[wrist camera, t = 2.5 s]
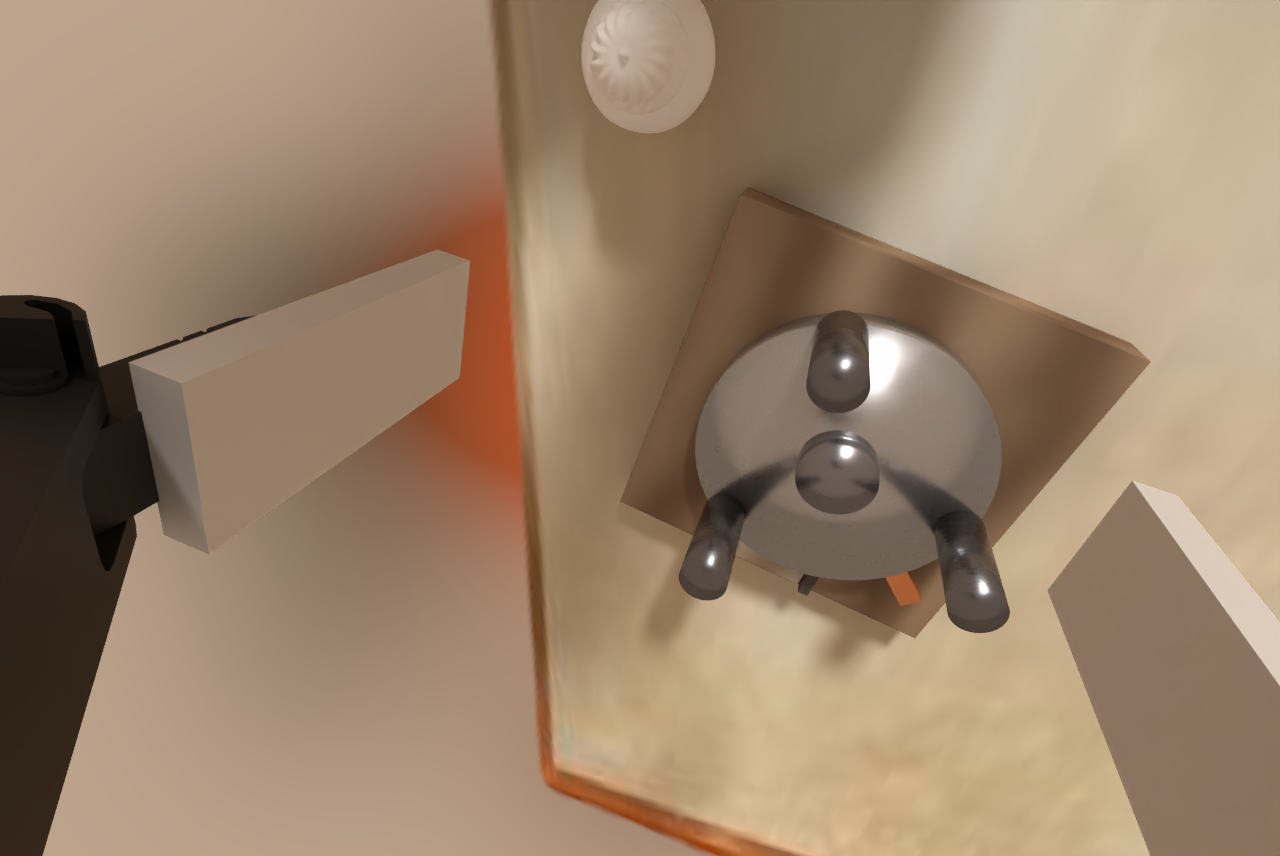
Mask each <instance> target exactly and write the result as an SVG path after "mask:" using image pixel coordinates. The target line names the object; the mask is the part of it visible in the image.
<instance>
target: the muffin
mask: <svg viewBox="0 0 1280 856" xmlns="http://www.w3.org/2000/svg"><path fill="white" fill-rule="evenodd" d="M715 56H716V52H715V39H714V34H713V29H712V25H711V22H710V19H709V16H708V13H707V11H706V9H705V7H704V5H703V3H702V2H701V0H598V2H597V3H596V4H595V6H594V8H593V9H592V11H591V13H590V16H589V18H588V20H587V23H586V27H585V30H584V34H583V40H582V49H581V63H582V71H583V76H584V80H585V84H586V87H587V90H588V92H589V94H590V96H591V98H592V100H593V102H594V104H595V105H596V107H597V108H598V109H599V111H600V112H601V113H602V114H603V115H604V116H605V117H606V118H607V119H608V120H609V121H611V122H612V123H614V124H615V125H617V126H619V127H621V128H624V129H626V130H629V131H633V132H637V133H646V134H651V133H660V132H664V131H667V130H670V129H672V128H674V127H676V126H678V125H680V124H681V123H683V122H684V121H685V120H687V119H688V118H689V117H690V116H691V115H692V114H693V113H694V112H695V111H696V109H697V108H698V107H699V106H700V104H701V103H702V101H703V100H704V98H705V96H706V94H707V92H708V90H709V88H710V85H711V82H712V78H713V74H714V69H715Z"/></svg>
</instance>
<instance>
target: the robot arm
mask: <svg viewBox="0 0 1280 856" xmlns="http://www.w3.org/2000/svg"><path fill="white" fill-rule="evenodd" d="M469 267H470V261H469V260H466V259H463V258H460V257H457V256H454V255H451V254H448V253H445V252H442V251H439V250H435V251H433V252H430V253H427V254H424V255H422V256H419V257H416V258H413V259H411V260H408V261H405V262H402V263H400V264H397V265H394V266H391V267H389V268H386V269H384V270H380V271H378V272H375V273H373V274H370V275H367V276H364V277H361V278H359V279H356V280H353V281H351V282H348V283H345V284H342V285H339V286H337V287H334V288H332V289H328V290H326V291H323V292H320V293H318V294H315V295H312V296H309V297H306V298H304V299H301V300H298V301H296V302H293V303H290V304H287V305H285V306H282V307H279V308H276V309H274V310H271V311H268V312H265V313H263V314H260V315H257V316H250V317H243V318H236V319H233V320H230V321H227V322H225V323H222V324H219V325H216V326H213V327H211V328H208V329H207V331H206V332H203V331H200V332H197V333H194V334H191V335H188V336H186V337H183V340H182V341H180V340H174V341H171V342H169V343H166V344H163V345H160V346H157V347H155V348H152V349H149V350H146V351H143V352H141V353H138V354H135V355H133V356H129V357H127V358H124V359H121V360H118V361H115V362H113V363H110V364H107V365H104V366H101V367H99V366H98V362H97V358H96V353H95V349H94V345H93V341H92V336H91V332H90V328H89V324H88V319H87V315H86V312H85V311H84V310H83V309H82V308H80V307H79V306H78V305H76V304H75V303H71V302H67V301H64V300H61V299H58V298H51V297H42V296H33V295H8V296H0V856H42V855H43V852H44V848H45V845H46V842H47V838H48V835H49V831H50V828H51V825H52V821H53V818H54V815H55V811H56V808H57V804H58V801H59V798H60V794H61V791H62V787H63V784H64V781H65V777H66V774H67V770H68V767H69V764H70V760H71V757H72V754H73V750H74V747H75V744H76V740H77V737H78V733H79V730H80V727H81V723H82V720H83V716H84V713H85V710H86V706H87V703H88V699H89V696H90V692H91V689H92V686H93V682H94V679H95V676H96V672H97V669H98V666H99V662H100V659H101V655H102V652H103V648H104V645H105V642H106V639H107V635H108V632H109V628H110V625H111V621H112V618H113V615H114V611H115V608H116V605H117V601H118V598H119V595H120V591H121V588H122V584H123V581H124V577H125V574H126V571H127V567H128V564H129V560H130V557H131V554H132V550H133V547H134V543H135V540H136V537H137V534H136V524H135V520H134V515H136V514H137V513H139V512H141V511H142V510H144V509H146V508H147V507H149V506H151V505H152V504H155V503H156V502H157V503H158V508H159V513H160V517H161V522H162V527H163V531H164V535H166V536H168V537H171V538H173V539H175V540H177V541H180V542H182V543H184V544H187V545H189V546H191V547H194V548H196V549H198V550H200V551H203V552H205V553H207V554H211V553H212V552H213V551H215V550H216V549H218V548H219V547H220V546H222V545H223V544H224V543H226V542H227V541H229V540H230V539H232V538H233V537H235V536H236V535H237V534H239V533H240V532H242V531H243V530H244V529H246V528H247V527H249V526H250V525H252V524H253V523H254V522H256V521H257V520H259V519H260V518H261V517H263V516H264V515H266V514H267V513H269V512H270V511H271V510H273V509H274V508H276V507H277V506H278V505H280V504H281V503H283V502H284V501H286V500H287V499H288V498H290V497H291V496H292V495H294V494H295V493H297V492H298V491H300V490H301V489H302V488H304V487H305V486H307V485H308V484H309V483H311V482H312V481H314V480H315V479H317V478H318V477H319V476H321V475H322V474H324V473H325V472H327V471H328V470H329V469H331V468H332V467H334V466H335V465H336V464H338V463H339V462H340V461H342V460H343V459H345V458H346V457H348V456H349V455H351V454H352V453H353V452H355V451H356V450H358V449H359V448H360V447H362V446H363V445H365V444H366V443H368V442H369V441H370V440H372V439H373V438H375V437H376V436H377V435H379V434H380V433H382V432H383V431H384V430H386V429H387V428H389V427H390V426H392V425H393V424H394V423H396V422H397V421H399V420H400V419H401V418H403V417H404V416H406V415H407V414H408V413H410V412H411V411H413V410H414V409H416V408H417V407H418V406H420V405H421V404H423V403H424V402H426V401H427V400H428V399H430V398H431V397H433V396H434V395H435V394H437V393H438V392H440V391H441V390H442V389H444V388H445V387H447V386H448V385H449V384H451V383H452V382H454V381H455V380H456V379H458V378H459V377H460V367H461V356H462V344H463V334H464V333H463V332H464V323H465V312H466V301H467V289H468V278H469ZM1048 593H1049V595H1050V598H1051V600H1052V603H1053V605H1054V608H1055V611H1056V613H1057V616H1058V618H1059V621H1060V624H1061V626H1062V629H1063V631H1064V634H1065V636H1066V639H1067V642H1068V644H1069V647H1070V649H1071V652H1072V655H1073V657H1074V660H1075V662H1076V665H1077V667H1078V670H1079V673H1080V675H1081V678H1082V680H1083V683H1084V685H1085V688H1086V691H1087V693H1088V696H1089V698H1090V701H1091V704H1092V706H1093V709H1094V711H1095V714H1096V716H1097V719H1098V722H1099V724H1100V727H1101V729H1102V732H1103V735H1104V737H1105V740H1106V742H1107V745H1108V747H1109V750H1110V753H1111V755H1112V758H1113V760H1114V763H1115V765H1116V768H1117V771H1118V773H1119V776H1120V778H1121V781H1122V784H1123V786H1124V789H1125V791H1126V794H1127V796H1128V799H1129V802H1130V804H1131V807H1132V809H1133V812H1134V815H1135V817H1136V820H1137V822H1138V825H1139V827H1140V830H1141V833H1142V835H1143V838H1144V840H1145V843H1146V845H1147V848H1148V851H1149V853H1150V856H1280V622H1279V621H1278V620H1277V618H1276V617H1275V616H1274V615H1273V613H1272V612H1271V611H1270V610H1269V608H1268V607H1267V606H1266V605H1265V603H1264V602H1263V601H1262V600H1261V598H1260V597H1259V596H1258V595H1257V594H1256V592H1255V591H1254V590H1253V589H1252V587H1251V586H1250V585H1249V584H1248V582H1247V581H1246V580H1245V579H1244V577H1243V576H1242V575H1241V574H1240V572H1239V571H1238V570H1237V569H1236V567H1235V566H1234V565H1233V564H1232V562H1231V561H1230V560H1229V559H1228V558H1227V556H1226V555H1225V554H1224V553H1223V551H1222V550H1221V549H1220V548H1219V546H1218V545H1217V544H1216V543H1215V541H1214V540H1213V539H1212V538H1211V536H1210V535H1209V534H1208V533H1207V531H1206V530H1205V529H1204V528H1203V526H1202V525H1201V524H1200V523H1199V522H1198V520H1197V519H1196V518H1195V517H1194V515H1193V514H1192V513H1191V512H1190V510H1189V509H1188V508H1187V507H1186V505H1185V504H1184V503H1183V502H1182V500H1181V499H1180V498H1179V497H1178V496H1177V495H1174V494H1171V493H1168V492H1165V491H1162V490H1159V489H1156V488H1153V487H1150V486H1147V485H1144V484H1141V483H1138V482H1135V481H1132V482H1131V483H1130V484H1129V486H1128V487H1127V488H1126V490H1125V491H1124V492H1123V493H1122V495H1121V496H1120V497H1119V499H1118V500H1117V501H1116V503H1115V504H1114V505H1113V506H1112V508H1111V509H1110V510H1109V512H1108V513H1107V514H1106V515H1105V517H1104V518H1103V519H1102V521H1101V522H1100V523H1099V525H1098V526H1097V527H1096V528H1095V530H1094V531H1093V532H1092V534H1091V535H1090V536H1089V538H1088V539H1087V540H1086V541H1085V543H1084V544H1083V545H1082V547H1081V548H1080V549H1079V550H1078V552H1077V553H1076V554H1075V556H1074V557H1073V558H1072V560H1071V561H1070V562H1069V563H1068V565H1067V566H1066V567H1065V569H1064V570H1063V571H1062V572H1061V574H1060V575H1059V576H1058V578H1057V579H1056V580H1055V582H1054V583H1053V584H1052V585H1051V587H1050V588H1049V589H1048Z"/></svg>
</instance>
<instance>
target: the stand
mask: <svg viewBox="0 0 1280 856" xmlns="http://www.w3.org/2000/svg"><path fill="white" fill-rule="evenodd" d="M839 310H847V311H851V312H854V313H867V314H874V315H879V316H884V317H888V318H892V319H895V320H898V321H901V322H904V323H907V324H910V325H912V326H914V327H916V328H918V329H920V330H922V331H925V332H927V333H929V334H930V335H932V336H933V337H935V338H936V339H938V340H939V341H941V342H942V343H944V344H945V345H947V346H948V347H949V348H950V349H951V350H952V351H953V352H954V353H956V354H957V355H958V356H959V357H960V358H961V359H962V360H963V361H964V362H965V364H966V365H967V366H968V367H969V369H970V370H971V371H972V372H973V373H974V375H975V377H976V378H977V380H978V382H979V383H980V385H981V387H982V388H983V390H984V393H985V395H986V398H987V400H988V402H989V405H990V407H991V410H992V412H993V415H994V417H995V420H996V423H997V425H998V430H999V435H1000V439H1001V449H1002V465H1001V472H1000V479H999V483H998V486H997V489H996V492H995V496H994V498H993V500H992V502H991V504H990V506H989V508H988V510H987V512H986V513H985V515H984V516H983V518H982V519H981V520H982V521H983V522H984V524H985V527H986V530H987V534H988V537H989V541H990V544H991V547H993V546H994V545H995V544H996V543H997V541H998V540H999V539H1000V538H1001V537H1002V535H1003V534H1004V533H1005V532H1006V531H1007V530H1008V528H1009V527H1010V526H1011V525H1012V524H1013V523H1014V521H1015V520H1016V519H1017V518H1018V517H1019V516H1020V514H1021V513H1022V512H1023V511H1024V510H1025V509H1026V507H1027V506H1028V505H1029V504H1030V503H1031V502H1032V500H1033V499H1034V498H1035V497H1036V496H1037V494H1038V493H1039V492H1040V491H1041V490H1042V489H1043V487H1044V486H1045V485H1046V484H1047V483H1048V482H1049V480H1050V479H1051V478H1052V477H1053V476H1054V475H1055V473H1056V472H1057V471H1058V470H1059V469H1060V468H1061V466H1062V465H1063V464H1064V463H1065V462H1066V460H1067V459H1068V458H1069V457H1070V456H1071V455H1072V453H1073V452H1074V451H1075V450H1076V449H1077V448H1078V446H1079V445H1080V444H1081V443H1082V442H1083V441H1084V439H1085V438H1086V437H1087V436H1088V435H1089V434H1090V432H1091V431H1092V430H1093V429H1094V428H1095V427H1096V425H1097V424H1098V423H1099V422H1100V421H1101V419H1102V418H1103V417H1104V416H1105V415H1106V414H1107V412H1108V411H1109V410H1110V409H1111V408H1112V407H1113V405H1114V404H1115V403H1116V402H1117V401H1118V400H1119V398H1120V397H1121V396H1122V395H1123V394H1124V393H1125V391H1126V390H1127V389H1128V388H1129V387H1130V385H1131V384H1132V383H1133V382H1134V381H1135V380H1136V378H1137V377H1138V376H1139V375H1140V374H1141V373H1142V371H1143V370H1144V369H1145V368H1146V367H1147V366H1148V364H1149V363H1150V361H1149V360H1148V359H1147V358H1146V357H1145V356H1144V355H1143V354H1142V353H1141V352H1140V351H1139V350H1138V349H1137V348H1135V347H1134V346H1133V345H1132V344H1131V343H1129V342H1127V341H1124V340H1122V339H1119V338H1117V337H1115V336H1112V335H1110V334H1107V333H1105V332H1102V331H1100V330H1097V329H1095V328H1092V327H1090V326H1087V325H1085V324H1082V323H1080V322H1078V321H1075V320H1073V319H1070V318H1068V317H1065V316H1063V315H1060V314H1058V313H1055V312H1053V311H1050V310H1048V309H1046V308H1043V307H1041V306H1038V305H1036V304H1033V303H1031V302H1028V301H1026V300H1023V299H1021V298H1018V297H1016V296H1013V295H1011V294H1009V293H1006V292H1004V291H1001V290H999V289H996V288H994V287H991V286H989V285H986V284H984V283H981V282H979V281H977V280H974V279H972V278H969V277H967V276H964V275H962V274H959V273H957V272H954V271H952V270H949V269H947V268H944V267H942V266H940V265H937V264H935V263H932V262H930V261H927V260H925V259H922V258H920V257H917V256H915V255H912V254H910V253H908V252H905V251H903V250H900V249H898V248H895V247H893V246H890V245H888V244H885V243H883V242H880V241H878V240H876V239H873V238H871V237H868V236H866V235H863V234H861V233H858V232H856V231H853V230H851V229H848V228H846V227H843V226H841V225H839V224H836V223H834V222H831V221H829V220H826V219H824V218H821V217H819V216H816V215H814V214H811V213H809V212H807V211H804V210H802V209H799V208H797V207H794V206H792V205H789V204H787V203H784V202H782V201H779V200H777V199H774V198H772V197H770V196H767V195H765V194H762V193H760V192H757V191H755V190H752V189H750V188H748V189H747V190H746V191H744V192H743V193H742V194H741V195H740V198H739V201H738V203H737V206H736V208H735V211H734V213H733V216H732V218H731V221H730V223H729V226H728V229H727V231H726V234H725V236H724V239H723V241H722V244H721V246H720V249H719V251H718V254H717V257H716V259H715V262H714V264H713V267H712V269H711V272H710V274H709V277H708V279H707V282H706V285H705V287H704V290H703V292H702V295H701V297H700V300H699V302H698V305H697V307H696V310H695V313H694V315H693V318H692V320H691V323H690V325H689V328H688V330H687V333H686V335H685V338H684V341H683V343H682V346H681V348H680V351H679V353H678V356H677V358H676V361H675V363H674V366H673V369H672V371H671V374H670V376H669V379H668V381H667V384H666V386H665V389H664V391H663V394H662V397H661V399H660V402H659V404H658V407H657V409H656V412H655V414H654V417H653V419H652V422H651V425H650V427H649V430H648V432H647V435H646V437H645V440H644V442H643V445H642V447H641V450H640V452H639V455H638V458H637V460H636V463H635V465H634V468H633V470H632V473H631V475H630V478H629V480H628V483H627V486H626V488H625V491H624V493H623V496H622V498H621V502H623V503H625V504H627V505H629V506H632V507H634V508H636V509H638V510H640V511H642V512H644V513H647V514H649V515H651V516H653V517H655V518H657V519H660V520H662V521H664V522H666V523H668V524H670V525H672V526H675V527H677V528H679V529H681V530H683V531H685V532H687V533H690V534H692V535H694V532H695V529H696V527H697V524H698V521H699V519H700V516H701V513H702V511H703V508H704V505H705V503H706V501H707V498H706V495H705V493H704V490H703V488H702V486H701V483H700V479H699V475H698V471H697V466H696V457H695V442H696V433H697V428H698V423H699V419H700V416H701V413H702V411H703V408H704V405H705V403H706V401H707V399H708V397H709V395H710V393H711V391H712V389H713V387H714V385H715V383H716V381H717V379H718V378H719V376H720V374H721V373H722V372H723V370H724V369H725V368H726V366H727V365H728V364H729V362H730V361H731V360H732V359H733V358H734V357H735V356H736V355H737V354H738V353H739V352H740V351H741V350H742V349H743V348H745V347H746V346H747V345H748V344H750V343H751V342H752V341H754V340H755V339H756V338H758V337H760V336H761V335H763V334H765V333H766V332H768V331H770V330H772V329H774V328H776V327H779V326H781V325H783V324H785V323H788V322H790V321H794V320H797V319H801V318H804V317H808V316H813V315H819V314H825V313H832V312H834V311H839ZM735 556H737V557H740V558H742V559H744V560H746V561H748V562H750V563H752V564H755V565H757V566H759V567H761V568H763V569H765V570H768V571H770V572H772V573H774V574H776V575H778V576H780V577H783V578H785V579H787V580H789V581H791V582H793V583H795V584H799V587H798V592H800V593H802V594H805V595H808V593H809V592H810V590H812V591H814V592H817V593H819V594H821V595H823V596H825V597H827V598H830V599H832V600H834V601H836V602H838V603H840V604H842V605H845V606H847V607H849V608H851V609H853V610H855V611H858V612H860V613H862V614H864V615H866V616H868V617H870V618H873V619H875V620H877V621H879V622H881V623H883V624H886V625H888V626H890V627H892V628H894V629H896V630H898V631H901V632H903V633H905V634H907V635H909V636H911V637H914V638H915V637H916V636H917V635H918V634H919V633H920V632H921V630H922V629H923V628H924V627H925V626H926V625H927V623H928V622H929V621H930V620H931V619H932V618H933V616H934V615H935V614H936V613H937V612H938V610H939V609H940V608H941V607H942V606H943V605H944V603H945V602H946V600H945V595H944V589H943V583H942V577H941V571H940V565H939V559H936V560H935V561H932V562H930V563H928V564H926V565H924V566H922V567H920V568H917V569H914V570H911V571H910V572H911V573H912V575H913V577H914V579H915V581H916V583H917V585H918V587H919V589H920V591H921V598H922V601H921V602H916V603H912V604H907V605H902V606H900V604H899V602H898V601H897V599H896V597H895V595H894V593H893V591H892V589H891V587H890V585H889V583H888V581H887V579H886V578H879V579H870V580H836V579H826V578H821V577H816V576H810V575H807V574H803V573H800V572H796V571H793V570H791V569H788V568H786V567H783V566H781V565H778V564H776V563H774V562H772V561H770V560H768V559H766V558H765V557H763V556H761V555H759V554H758V553H756V552H755V551H753V550H752V549H750V548H749V547H747V546H746V545H745V544H744V543H743V542H742V541H740V540H739V543H738V547H737V551H736V555H735Z"/></svg>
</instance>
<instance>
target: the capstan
mask: <svg viewBox="0 0 1280 856" xmlns="http://www.w3.org/2000/svg"><path fill="white" fill-rule="evenodd" d="M695 457H696V466H697V471H698V475H699V479H700V483H701V486H702V488H703V490H704V493H705V495H706V498H707V501H706V503H705V505H704V508H703V511H702V513H701V516H700V519H699V521H698V524H697V527H696V529H695V532H694V535H693V538H692V540H691V543H690V546H689V548H688V551H687V554H686V556H685V559H684V562H683V565H682V567H681V570H680V573H679V581H680V584H681V586H682V588H683V589H684V590H685V591H686V592H687V593H688V594H690V595H691V596H693V597H695V598H697V599H701V600H714V599H717V598H719V597H721V596H722V595H723V594H724V593H725V591H726V589H727V585H728V581H729V577H730V573H731V570H732V566H733V562H734V558H735V555H736V551H737V547H738V543H739V540H740V541H742V542H743V543H744V544H745V545H746V546H747V547H749V548H750V549H752V550H753V551H755V552H756V553H758V554H759V555H761V556H763V557H765V558H766V559H768V560H770V561H772V562H774V563H776V564H778V565H781V566H783V567H786V568H788V569H791V570H793V571H796V572H800V573H803V574H807V575H810V576H816V577H821V578H826V579H836V580H870V579H879V578H886V579H887V581H888V583H889V585H890V587H891V589H892V591H893V593H894V595H895V597H896V599H897V601H898V602H899V604H900V606H902V605H907V604H912V603H916V602H921V601H922V598H921V591H920V589H919V587H918V585H917V583H916V581H915V579H914V577H913V575H912V573H911V572H910V571H911V570H914V569H917V568H920V567H922V566H924V565H926V564H928V563H930V562H932V561H935V560H936V559H939V565H940V571H941V577H942V583H943V589H944V595H945V600H946V606H947V612H948V616H949V618H950V620H951V621H952V622H953V623H954V624H955V625H956V626H958V627H959V628H961V629H963V630H966V631H969V632H974V633H986V632H991V631H994V630H997V629H999V628H1000V627H1002V626H1003V625H1004V624H1005V623H1006V622H1007V620H1008V618H1009V614H1010V610H1009V606H1008V603H1007V599H1006V596H1005V592H1004V589H1003V586H1002V582H1001V579H1000V575H999V572H998V568H997V565H996V561H995V558H994V554H993V551H992V547H991V544H990V541H989V537H988V534H987V530H986V527H985V524H984V522H983V521H982V520H981V519H982V518H983V516H984V515H985V513H986V512H987V510H988V508H989V506H990V504H991V502H992V500H993V498H994V496H995V492H996V489H997V486H998V483H999V479H1000V472H1001V465H1002V449H1001V439H1000V435H999V430H998V425H997V423H996V420H995V417H994V415H993V412H992V410H991V407H990V405H989V402H988V400H987V398H986V395H985V393H984V390H983V388H982V387H981V385H980V383H979V382H978V380H977V378H976V377H975V375H974V373H973V372H972V371H971V370H970V369H969V367H968V366H967V365H966V364H965V362H964V361H963V360H962V359H961V358H960V357H959V356H958V355H957V354H956V353H954V352H953V351H952V350H951V349H950V348H949V347H948V346H947V345H945V344H944V343H942V342H941V341H939V340H938V339H936V338H935V337H933V336H932V335H930V334H929V333H927V332H925V331H922V330H920V329H918V328H916V327H914V326H912V325H910V324H907V323H904V322H901V321H898V320H895V319H892V318H888V317H884V316H879V315H874V314H867V313H854V312H851V311H847V310H839V311H834V312H832V313H825V314H819V315H813V316H808V317H804V318H801V319H797V320H794V321H790V322H788V323H785V324H783V325H781V326H779V327H776V328H774V329H772V330H770V331H768V332H766V333H765V334H763V335H761V336H760V337H758V338H756V339H755V340H754V341H752V342H751V343H750V344H748V345H747V346H746V347H745V348H743V349H742V350H741V351H740V352H739V353H738V354H737V355H736V356H735V357H734V358H733V359H732V360H731V361H730V362H729V364H728V365H727V366H726V368H725V369H724V370H723V372H722V373H721V374H720V376H719V378H718V379H717V381H716V383H715V385H714V387H713V389H712V391H711V393H710V395H709V397H708V399H707V401H706V403H705V405H704V408H703V411H702V413H701V416H700V419H699V423H698V428H697V433H696V442H695Z"/></svg>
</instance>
